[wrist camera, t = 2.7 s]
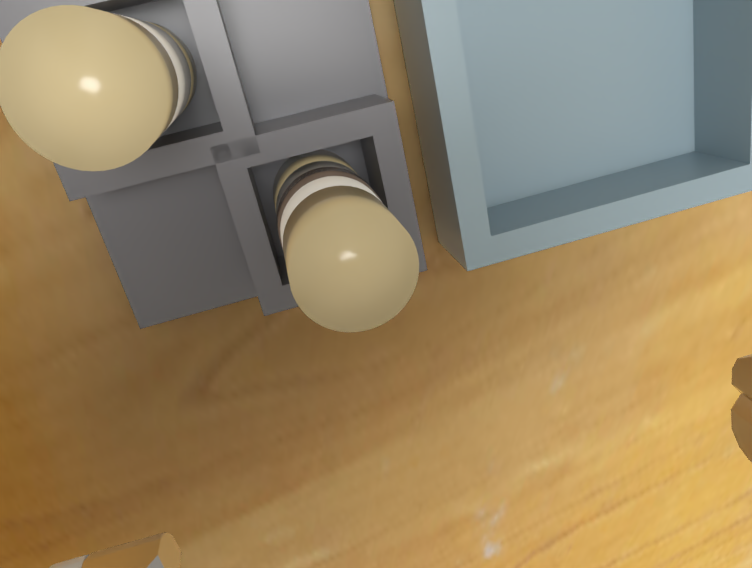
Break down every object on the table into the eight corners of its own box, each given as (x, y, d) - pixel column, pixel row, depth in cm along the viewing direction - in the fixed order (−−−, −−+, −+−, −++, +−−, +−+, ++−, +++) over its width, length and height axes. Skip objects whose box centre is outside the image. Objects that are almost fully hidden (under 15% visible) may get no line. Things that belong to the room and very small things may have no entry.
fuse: (209, 110, 24) (188, 150, 15) (116, 132, 24) (37, 188, 15) (178, 11, 23) (134, -12, 13) (79, 34, 22) (-36, 26, 13)
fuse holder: (413, 244, 29) (441, 278, 25) (143, 319, 28) (125, 367, 23) (345, -86, 23) (367, -114, 19) (7, -12, 22) (-46, -25, 18)
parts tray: (709, 167, 30) (774, 184, 27) (438, 241, 29) (467, 271, 25) (708, -171, 25) (790, -209, 21) (375, -98, 24) (399, -125, 20)
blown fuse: (367, 222, 27) (431, 313, 18) (285, 244, 27) (306, 349, 17) (348, 137, 25) (407, 190, 16) (260, 160, 25) (270, 226, 16)
